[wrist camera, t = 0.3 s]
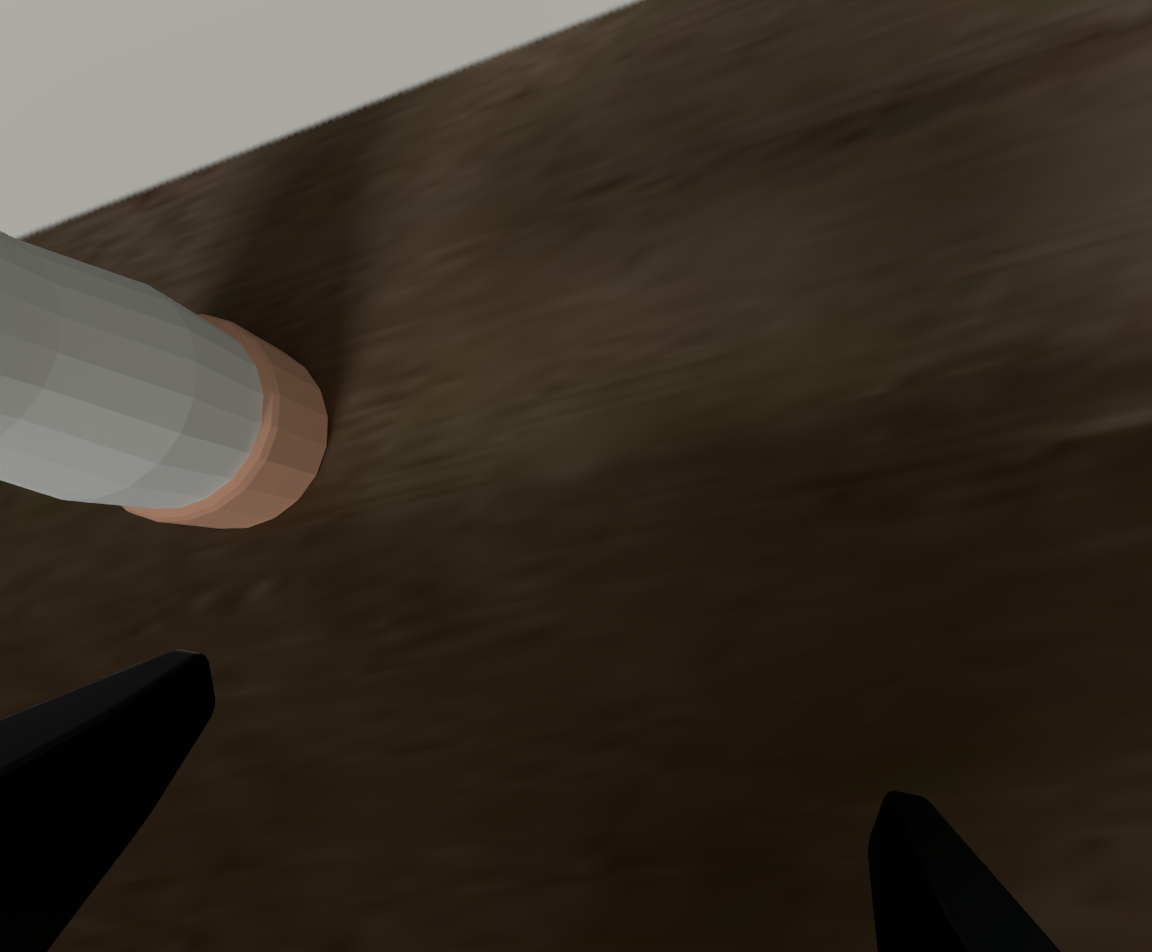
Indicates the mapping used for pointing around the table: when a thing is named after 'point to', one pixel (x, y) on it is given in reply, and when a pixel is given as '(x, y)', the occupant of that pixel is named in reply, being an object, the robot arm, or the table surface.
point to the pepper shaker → (146, 399)
